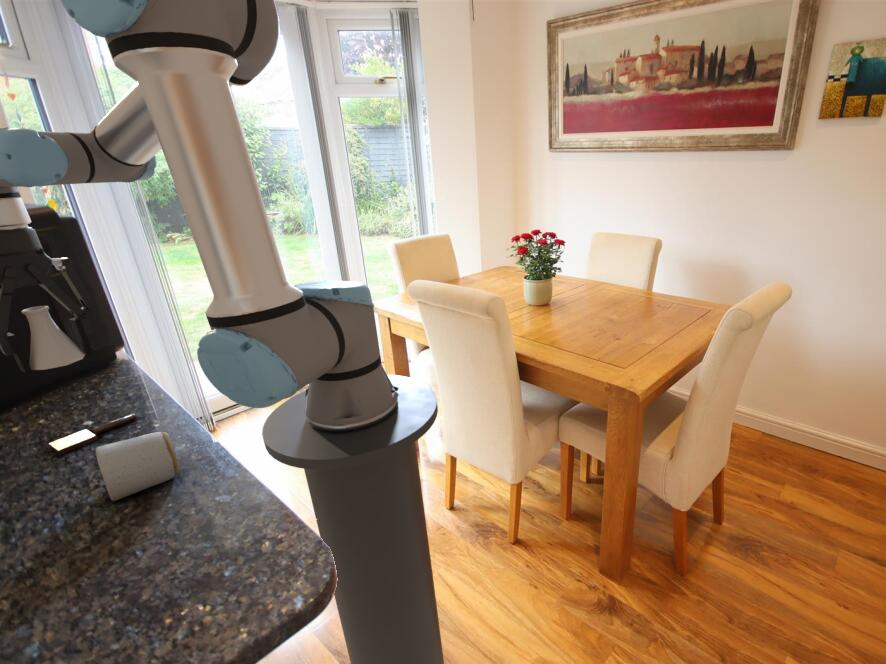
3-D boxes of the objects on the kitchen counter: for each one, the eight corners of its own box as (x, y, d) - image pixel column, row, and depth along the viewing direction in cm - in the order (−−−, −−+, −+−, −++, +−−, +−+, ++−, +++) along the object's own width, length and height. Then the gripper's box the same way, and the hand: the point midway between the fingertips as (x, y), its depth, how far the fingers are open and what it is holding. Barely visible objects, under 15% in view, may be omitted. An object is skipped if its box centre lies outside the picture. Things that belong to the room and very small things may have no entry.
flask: (70, 368, 78) (45, 311, 74) (19, 374, 76) (-9, 317, 73) (95, 352, 84) (73, 300, 81) (48, 358, 83) (24, 304, 79)
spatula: (131, 415, 85) (129, 409, 85) (142, 421, 83) (140, 415, 83) (50, 447, 76) (47, 441, 76) (60, 455, 74) (57, 448, 74)
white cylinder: (187, 482, 66) (171, 436, 64) (115, 511, 61) (94, 462, 58) (172, 453, 73) (157, 411, 71) (106, 478, 68) (87, 433, 65)
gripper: (73, 219, 82) (119, 339, 90) (-109, 237, 66) (-33, 381, 74) (90, 220, 78) (136, 345, 86) (-98, 239, 62) (-20, 390, 70)
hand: (58, 361), depth 80 cm, fingers closed on flask, 8 cm apart
